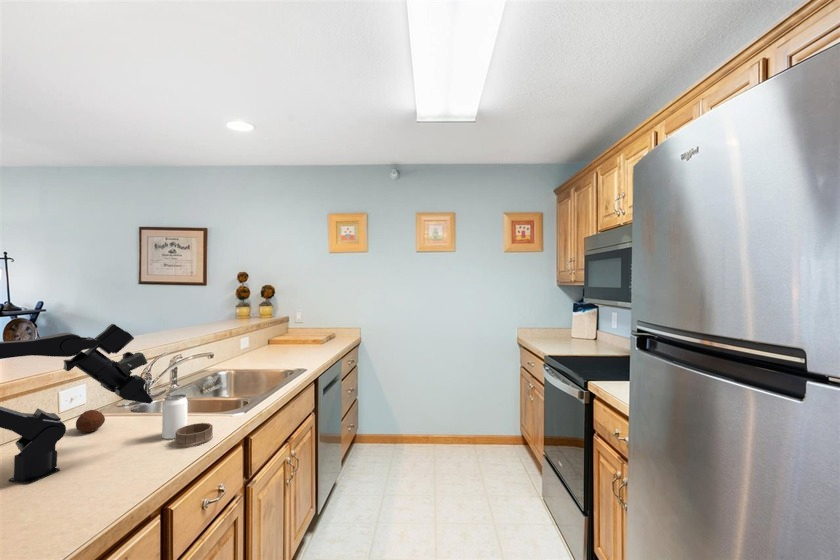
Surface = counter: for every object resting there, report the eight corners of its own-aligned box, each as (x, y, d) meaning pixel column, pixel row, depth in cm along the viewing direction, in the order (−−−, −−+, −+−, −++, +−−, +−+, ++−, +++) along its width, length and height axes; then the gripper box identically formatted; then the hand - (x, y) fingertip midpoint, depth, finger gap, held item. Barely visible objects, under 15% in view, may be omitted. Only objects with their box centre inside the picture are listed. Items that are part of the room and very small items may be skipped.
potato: (105, 423, 121) (105, 404, 121) (104, 432, 114) (105, 412, 114) (76, 429, 116) (77, 409, 117) (74, 438, 109) (74, 417, 110)
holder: (195, 448, 102) (195, 436, 102) (166, 446, 104) (167, 434, 104) (219, 435, 112) (220, 424, 112) (193, 432, 114) (193, 421, 114)
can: (190, 434, 112) (191, 396, 113) (167, 441, 107) (167, 401, 107) (181, 429, 116) (182, 392, 116) (158, 436, 111) (159, 397, 111)
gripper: (138, 347, 97) (181, 381, 105) (117, 341, 108) (157, 372, 116) (98, 382, 90) (147, 415, 99) (79, 371, 101) (126, 402, 110)
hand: (145, 399), depth 106 cm, fingers open, 9 cm apart
